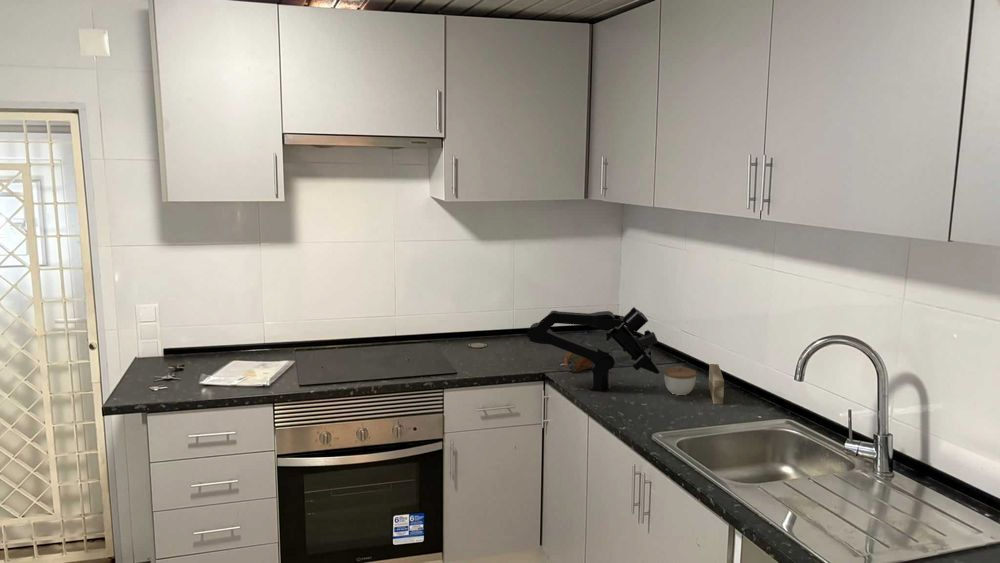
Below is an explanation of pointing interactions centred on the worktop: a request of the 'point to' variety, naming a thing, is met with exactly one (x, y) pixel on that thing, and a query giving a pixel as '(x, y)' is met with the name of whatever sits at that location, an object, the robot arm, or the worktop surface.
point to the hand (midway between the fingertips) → (658, 372)
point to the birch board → (716, 384)
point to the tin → (576, 362)
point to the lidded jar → (680, 380)
